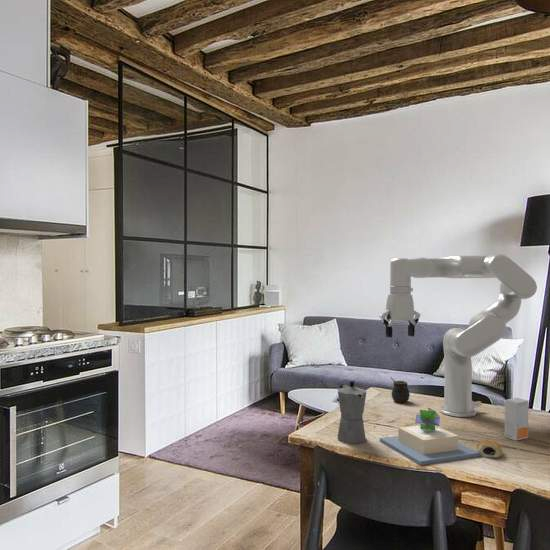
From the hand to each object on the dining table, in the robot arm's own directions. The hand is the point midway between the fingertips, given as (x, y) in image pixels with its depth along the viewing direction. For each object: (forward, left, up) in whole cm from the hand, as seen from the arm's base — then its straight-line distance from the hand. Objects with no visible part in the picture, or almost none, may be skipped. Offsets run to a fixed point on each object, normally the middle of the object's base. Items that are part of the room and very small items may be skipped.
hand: (400, 336), depth 181 cm
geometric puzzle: (+15, +36, -23) cm, 45 cm away
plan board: (+15, +36, -28) cm, 48 cm away
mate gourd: (-9, -13, -29) cm, 33 cm away
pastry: (0, +45, -29) cm, 53 cm away
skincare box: (-18, +37, -28) cm, 50 cm away
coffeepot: (+32, +20, -28) cm, 47 cm away
